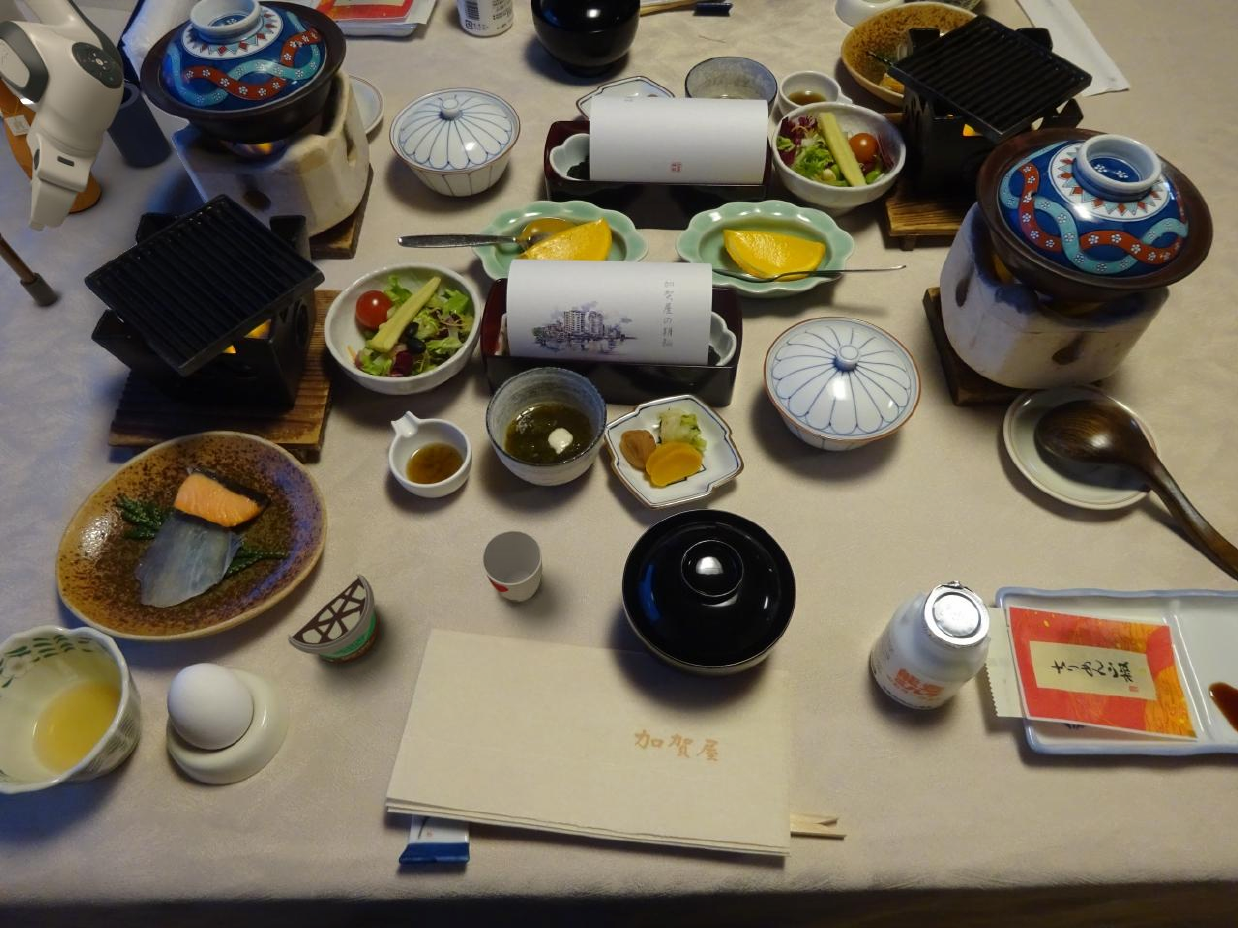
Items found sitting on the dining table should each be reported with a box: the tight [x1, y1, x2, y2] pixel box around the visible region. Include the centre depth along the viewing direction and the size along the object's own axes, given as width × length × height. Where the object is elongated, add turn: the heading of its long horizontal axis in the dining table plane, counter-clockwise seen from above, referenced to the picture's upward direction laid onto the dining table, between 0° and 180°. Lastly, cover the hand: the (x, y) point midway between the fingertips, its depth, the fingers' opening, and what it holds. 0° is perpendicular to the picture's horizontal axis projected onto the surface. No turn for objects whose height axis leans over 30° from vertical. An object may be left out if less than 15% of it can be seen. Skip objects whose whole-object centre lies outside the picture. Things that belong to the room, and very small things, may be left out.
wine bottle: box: [0, 76, 101, 213], centre depth 145 cm, size 10×10×30 cm
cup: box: [481, 529, 543, 603], centre depth 111 cm, size 8×8×10 cm
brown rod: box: [0, 232, 58, 307], centre depth 137 cm, size 3×3×16 cm
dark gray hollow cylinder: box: [105, 81, 172, 169], centre depth 160 cm, size 9×9×13 cm
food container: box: [287, 573, 380, 664], centre depth 106 cm, size 12×6×10 cm, turn 139°
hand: (35, 208), depth 130 cm, fingers open, 8 cm apart
